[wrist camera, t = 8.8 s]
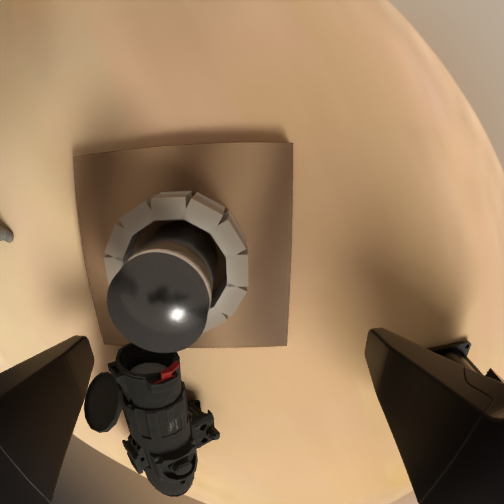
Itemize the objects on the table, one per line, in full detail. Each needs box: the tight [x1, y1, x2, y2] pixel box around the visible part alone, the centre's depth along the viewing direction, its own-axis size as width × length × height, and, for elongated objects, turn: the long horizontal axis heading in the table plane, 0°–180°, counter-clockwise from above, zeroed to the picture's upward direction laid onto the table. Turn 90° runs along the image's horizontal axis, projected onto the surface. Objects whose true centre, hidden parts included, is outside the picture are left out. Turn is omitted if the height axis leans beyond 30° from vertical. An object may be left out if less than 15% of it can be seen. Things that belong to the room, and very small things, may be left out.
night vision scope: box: [84, 342, 220, 497], centre depth 21 cm, size 8×18×10 cm
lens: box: [107, 221, 218, 353], centre depth 16 cm, size 5×5×7 cm
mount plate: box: [73, 142, 293, 348], centre depth 19 cm, size 14×14×4 cm
